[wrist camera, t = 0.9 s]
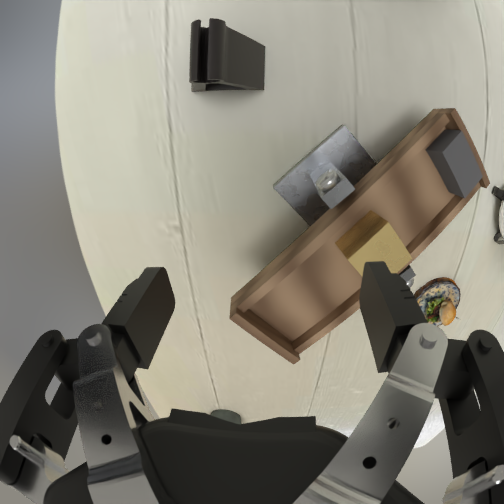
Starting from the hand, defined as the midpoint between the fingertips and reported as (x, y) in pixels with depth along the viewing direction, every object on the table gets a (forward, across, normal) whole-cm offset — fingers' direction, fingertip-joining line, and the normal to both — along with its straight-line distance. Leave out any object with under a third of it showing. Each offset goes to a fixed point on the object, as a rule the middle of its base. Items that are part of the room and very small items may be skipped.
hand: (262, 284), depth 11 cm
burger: (+26, -29, +26) cm, 47 cm away
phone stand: (+26, +5, -13) cm, 30 cm away
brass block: (+16, -9, +7) cm, 20 cm away
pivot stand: (+26, -10, +6) cm, 29 cm away
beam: (+17, -10, +6) cm, 21 cm away
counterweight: (+18, -20, -2) cm, 27 cm away
